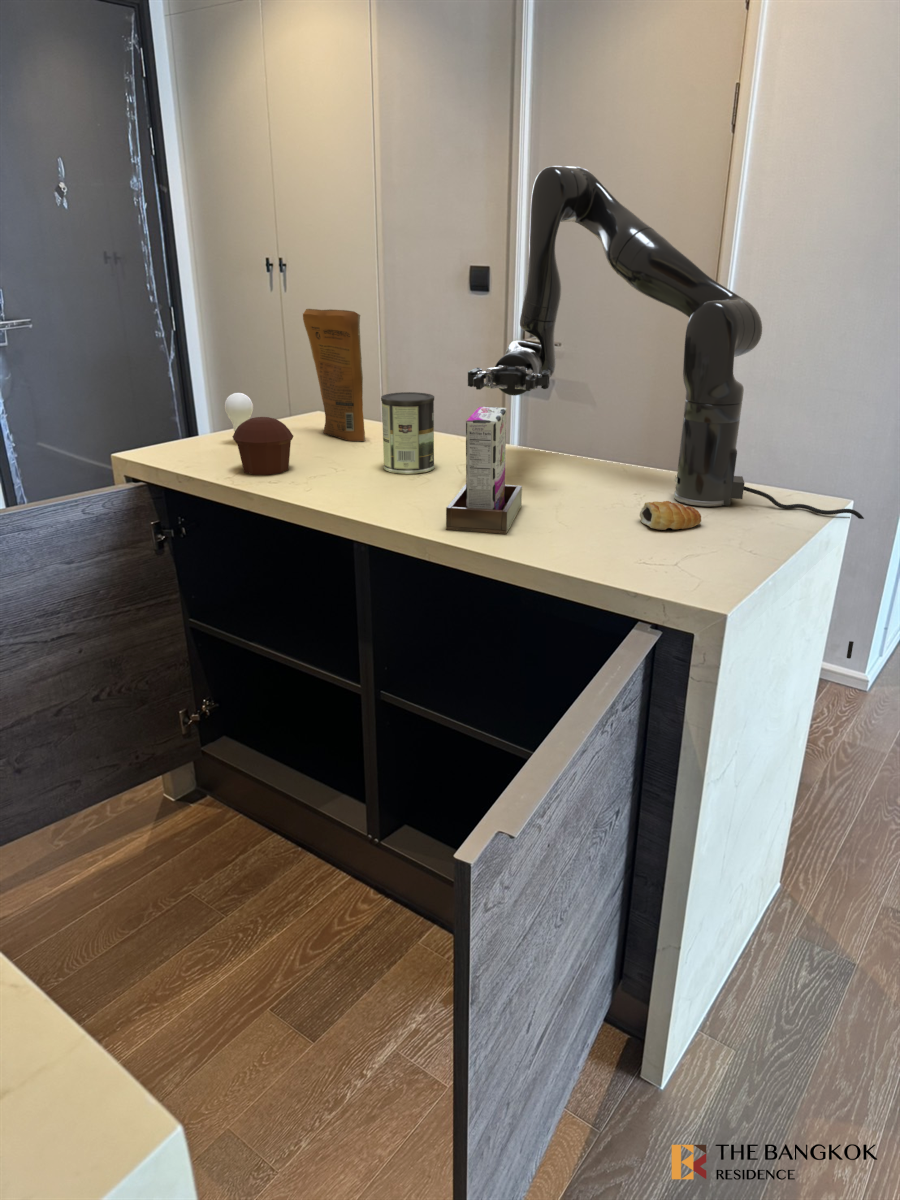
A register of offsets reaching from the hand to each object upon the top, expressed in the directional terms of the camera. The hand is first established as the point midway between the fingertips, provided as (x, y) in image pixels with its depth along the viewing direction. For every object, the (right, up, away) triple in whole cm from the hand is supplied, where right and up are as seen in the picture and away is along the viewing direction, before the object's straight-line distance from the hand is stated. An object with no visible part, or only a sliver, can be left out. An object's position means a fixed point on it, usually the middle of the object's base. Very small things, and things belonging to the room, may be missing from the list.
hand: (502, 384), depth 146 cm
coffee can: (-17, -10, +26) cm, 33 cm away
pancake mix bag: (-34, +1, +53) cm, 63 cm away
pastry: (+26, -25, -8) cm, 36 cm away
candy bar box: (-3, -23, -5) cm, 23 cm away
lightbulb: (-55, -2, +46) cm, 72 cm away
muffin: (-45, -11, +24) cm, 52 cm away
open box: (-3, -23, -5) cm, 24 cm away
